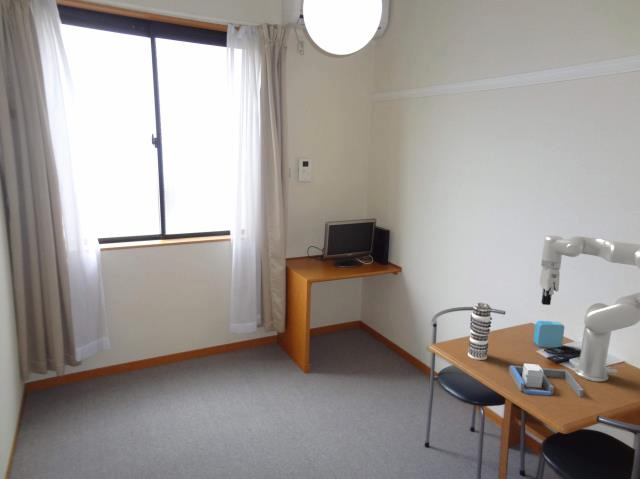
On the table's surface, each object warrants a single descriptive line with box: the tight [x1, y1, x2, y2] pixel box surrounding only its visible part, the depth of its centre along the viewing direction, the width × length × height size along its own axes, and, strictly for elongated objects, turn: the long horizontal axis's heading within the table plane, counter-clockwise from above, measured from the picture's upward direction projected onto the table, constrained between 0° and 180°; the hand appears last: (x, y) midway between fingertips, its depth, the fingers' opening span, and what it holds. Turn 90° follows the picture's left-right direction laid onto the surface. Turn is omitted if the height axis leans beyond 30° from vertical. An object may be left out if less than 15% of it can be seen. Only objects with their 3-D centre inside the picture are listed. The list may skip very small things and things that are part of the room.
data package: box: [533, 320, 565, 349], centre depth 217 cm, size 12×4×12 cm, turn 89°
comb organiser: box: [508, 365, 585, 398], centre depth 181 cm, size 23×17×4 cm
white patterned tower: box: [467, 302, 493, 361], centre depth 203 cm, size 9×9×25 cm
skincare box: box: [521, 363, 543, 389], centre depth 181 cm, size 6×6×7 cm
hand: (545, 304), depth 197 cm, fingers closed
